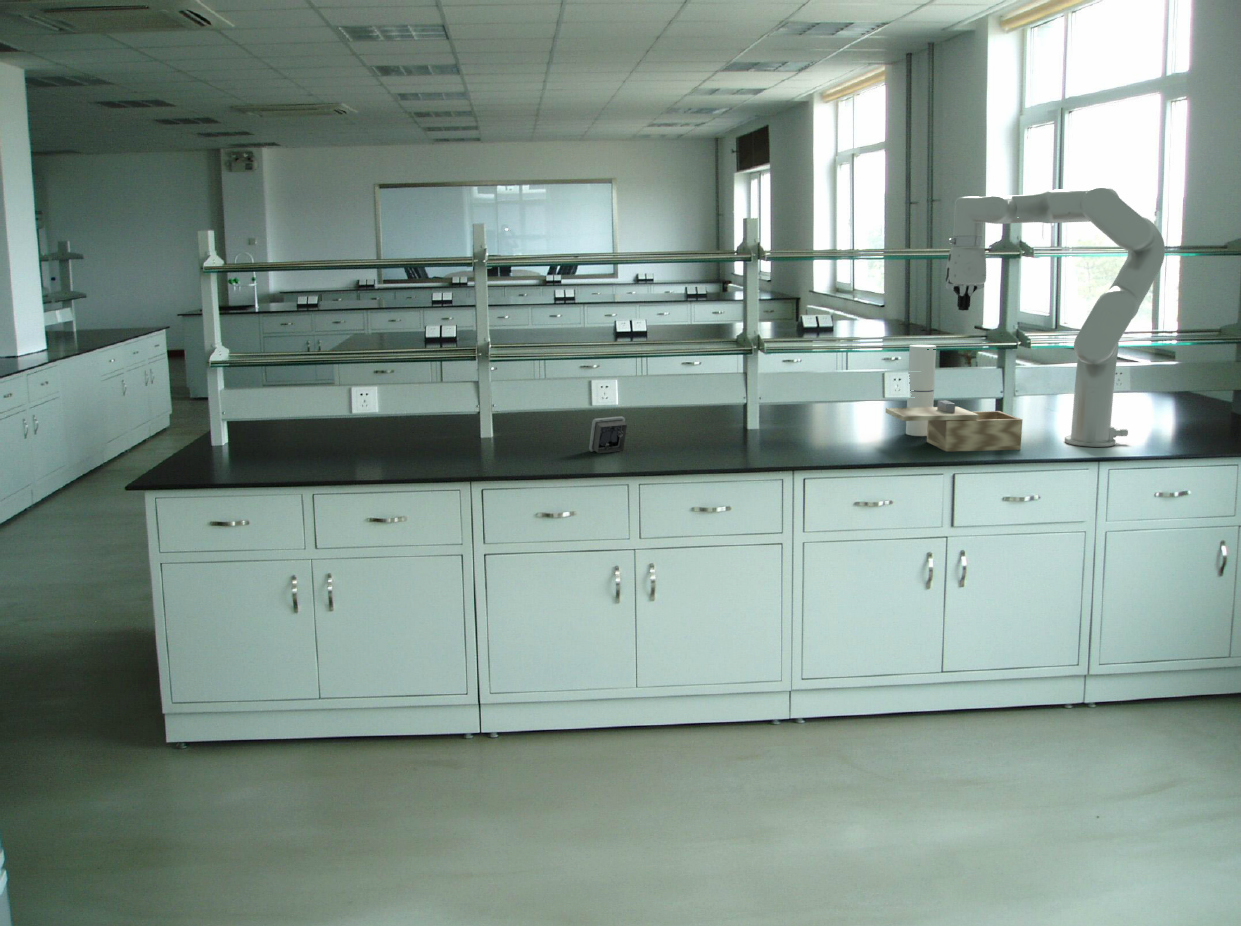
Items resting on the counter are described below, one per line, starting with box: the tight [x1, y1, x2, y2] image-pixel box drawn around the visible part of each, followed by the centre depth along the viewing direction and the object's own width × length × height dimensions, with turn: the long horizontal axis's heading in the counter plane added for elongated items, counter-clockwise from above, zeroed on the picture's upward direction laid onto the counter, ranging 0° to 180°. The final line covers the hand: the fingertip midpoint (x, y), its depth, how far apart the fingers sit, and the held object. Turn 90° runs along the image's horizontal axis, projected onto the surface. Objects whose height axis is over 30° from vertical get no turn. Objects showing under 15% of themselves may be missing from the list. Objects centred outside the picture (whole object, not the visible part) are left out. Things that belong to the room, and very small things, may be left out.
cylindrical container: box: [905, 343, 937, 437], centre depth 302 cm, size 7×7×25 cm
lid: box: [885, 399, 979, 422], centre depth 283 cm, size 20×14×4 cm
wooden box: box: [926, 410, 1023, 452], centre depth 286 cm, size 20×14×8 cm
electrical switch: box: [588, 416, 628, 454], centre depth 282 cm, size 9×5×9 cm, turn 118°
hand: (963, 310), depth 298 cm, fingers closed
